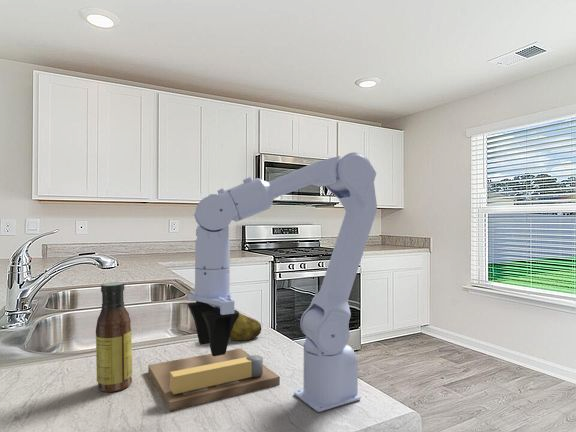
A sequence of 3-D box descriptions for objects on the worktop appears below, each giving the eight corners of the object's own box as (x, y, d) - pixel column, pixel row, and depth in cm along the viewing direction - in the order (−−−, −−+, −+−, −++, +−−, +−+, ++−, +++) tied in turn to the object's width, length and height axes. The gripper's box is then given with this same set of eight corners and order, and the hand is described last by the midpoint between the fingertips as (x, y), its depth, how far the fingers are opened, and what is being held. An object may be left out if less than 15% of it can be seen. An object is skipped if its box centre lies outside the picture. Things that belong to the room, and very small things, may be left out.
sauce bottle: (122, 377, 77) (123, 279, 77) (138, 385, 73) (139, 282, 73) (89, 387, 72) (90, 283, 72) (104, 397, 68) (105, 286, 68)
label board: (240, 354, 90) (240, 347, 90) (279, 384, 74) (279, 376, 74) (148, 372, 79) (148, 364, 79) (169, 411, 63) (169, 401, 63)
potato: (256, 344, 97) (256, 313, 97) (208, 342, 99) (208, 311, 99) (263, 335, 106) (263, 306, 106) (218, 333, 107) (218, 305, 107)
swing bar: (258, 369, 76) (258, 354, 76) (265, 374, 74) (265, 359, 74) (169, 388, 67) (169, 371, 68) (173, 395, 65) (174, 377, 65)
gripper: (177, 264, 68) (176, 340, 67) (202, 274, 55) (202, 367, 55) (215, 262, 71) (214, 334, 71) (247, 271, 59) (246, 359, 58)
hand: (211, 348), depth 63 cm, fingers open, 6 cm apart
